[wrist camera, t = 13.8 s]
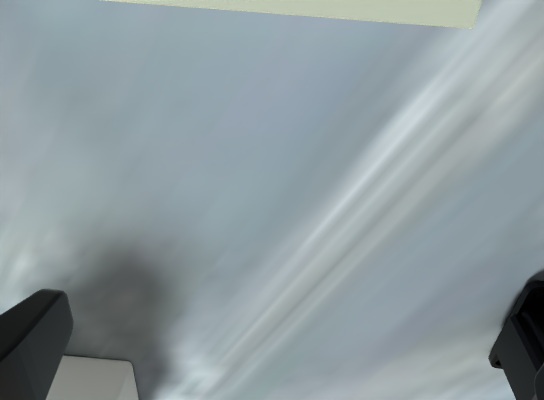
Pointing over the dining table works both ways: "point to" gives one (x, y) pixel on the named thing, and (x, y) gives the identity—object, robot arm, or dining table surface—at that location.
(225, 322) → the dining table surface
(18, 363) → the robot arm
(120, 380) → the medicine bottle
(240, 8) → the post board
